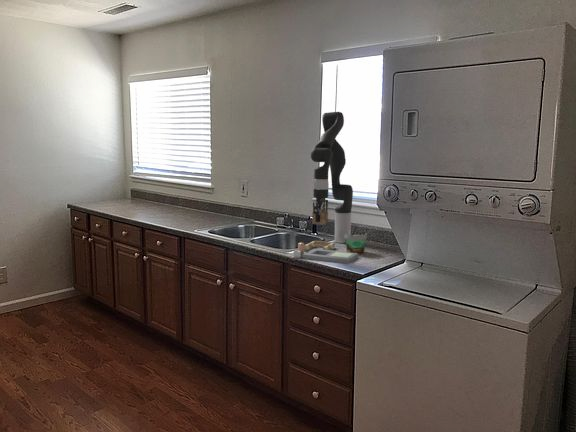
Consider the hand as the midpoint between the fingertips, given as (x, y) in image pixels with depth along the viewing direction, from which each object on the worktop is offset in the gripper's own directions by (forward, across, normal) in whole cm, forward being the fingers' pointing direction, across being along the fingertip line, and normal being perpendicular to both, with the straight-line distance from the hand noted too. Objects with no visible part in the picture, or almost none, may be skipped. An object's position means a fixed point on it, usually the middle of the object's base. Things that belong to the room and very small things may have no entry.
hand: (320, 221), depth 258 cm
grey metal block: (+18, +6, -10) cm, 22 cm away
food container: (+18, -16, +14) cm, 28 cm away
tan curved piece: (+18, -15, -6) cm, 24 cm away
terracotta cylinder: (+18, 0, -10) cm, 21 cm away
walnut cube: (+1, 0, 0) cm, 1 cm away
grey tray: (+18, 0, +6) cm, 19 cm away
